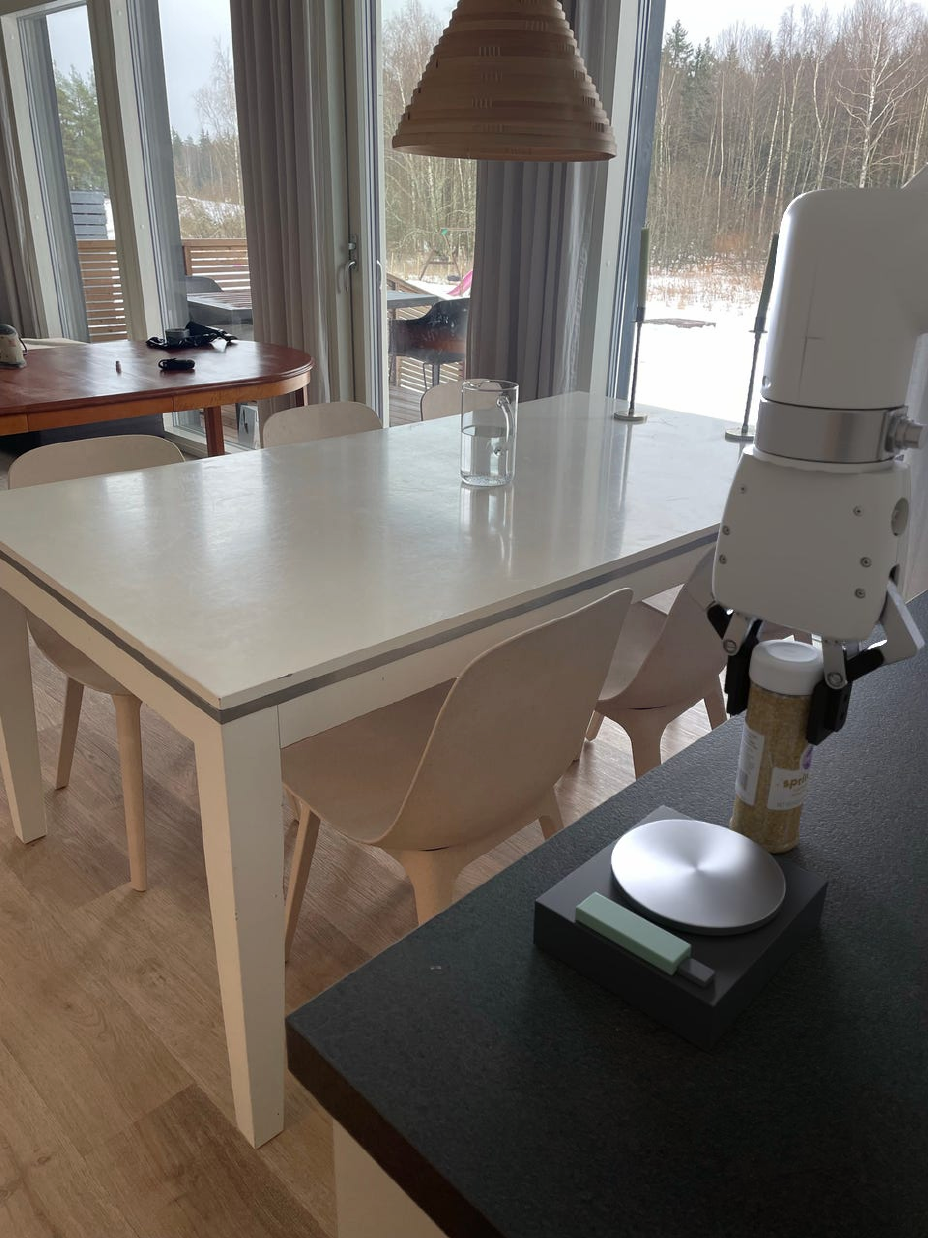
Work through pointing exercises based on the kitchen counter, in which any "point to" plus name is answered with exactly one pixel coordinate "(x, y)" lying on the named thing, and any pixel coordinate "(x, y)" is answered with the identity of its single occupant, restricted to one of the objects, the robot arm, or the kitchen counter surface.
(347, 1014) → the kitchen counter surface
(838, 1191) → the kitchen counter surface
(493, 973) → the kitchen counter surface
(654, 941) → the scale
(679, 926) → the scale pan
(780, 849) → the sprinkles bottle
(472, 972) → the kitchen counter surface
